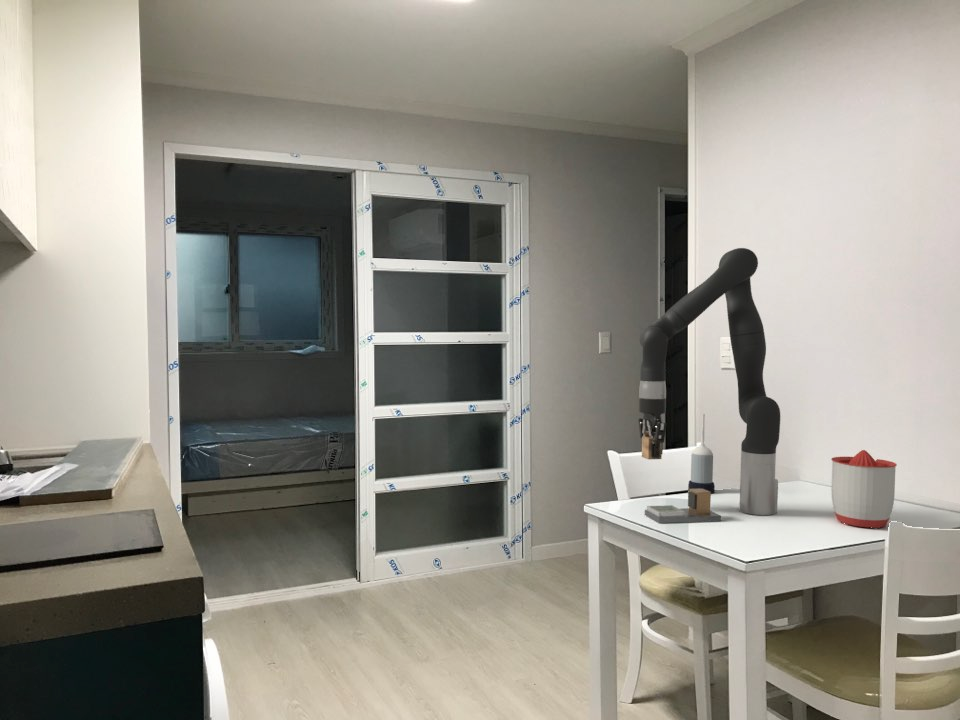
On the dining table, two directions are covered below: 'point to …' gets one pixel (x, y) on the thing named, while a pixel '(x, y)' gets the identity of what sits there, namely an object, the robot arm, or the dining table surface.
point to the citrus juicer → (863, 490)
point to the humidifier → (702, 466)
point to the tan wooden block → (649, 448)
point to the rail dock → (686, 510)
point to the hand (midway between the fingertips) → (651, 455)
